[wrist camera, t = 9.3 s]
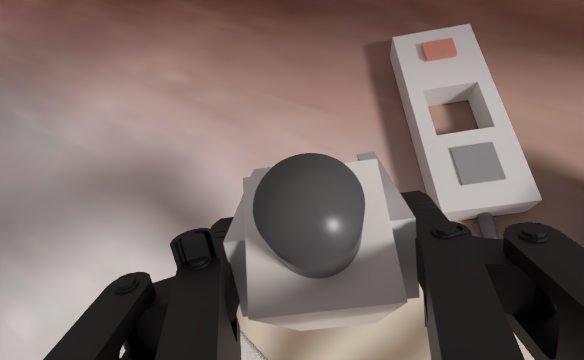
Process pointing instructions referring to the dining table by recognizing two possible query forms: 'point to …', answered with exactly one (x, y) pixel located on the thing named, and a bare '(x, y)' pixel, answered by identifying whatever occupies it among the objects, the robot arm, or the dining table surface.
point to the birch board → (347, 338)
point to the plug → (320, 245)
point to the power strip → (467, 144)
